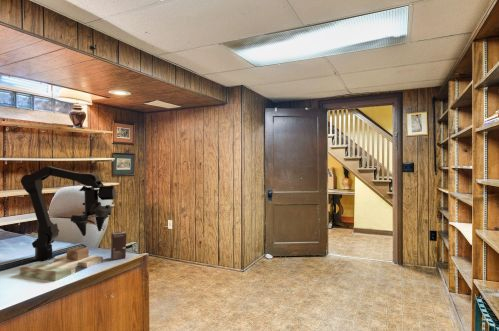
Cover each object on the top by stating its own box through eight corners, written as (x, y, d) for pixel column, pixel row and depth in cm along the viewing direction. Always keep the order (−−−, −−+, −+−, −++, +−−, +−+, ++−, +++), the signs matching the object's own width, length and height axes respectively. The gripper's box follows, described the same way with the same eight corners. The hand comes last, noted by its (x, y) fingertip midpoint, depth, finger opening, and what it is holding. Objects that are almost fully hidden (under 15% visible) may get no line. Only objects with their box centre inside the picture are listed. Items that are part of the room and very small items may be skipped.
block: (66, 259, 133) (66, 250, 133) (77, 255, 139) (78, 246, 138) (77, 260, 131) (77, 251, 131) (88, 256, 137) (88, 247, 137)
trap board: (19, 275, 119) (19, 266, 119) (71, 256, 142) (71, 249, 142) (55, 281, 114) (55, 271, 114) (102, 261, 137) (102, 253, 137)
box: (112, 260, 138) (112, 234, 138) (110, 257, 142) (111, 232, 142) (126, 258, 142) (126, 232, 142) (124, 255, 146) (124, 230, 145)
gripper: (89, 203, 131) (90, 239, 131) (119, 198, 149) (120, 229, 149) (69, 202, 134) (70, 237, 134) (101, 197, 152) (101, 228, 152)
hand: (92, 233), depth 142 cm, fingers open, 9 cm apart
